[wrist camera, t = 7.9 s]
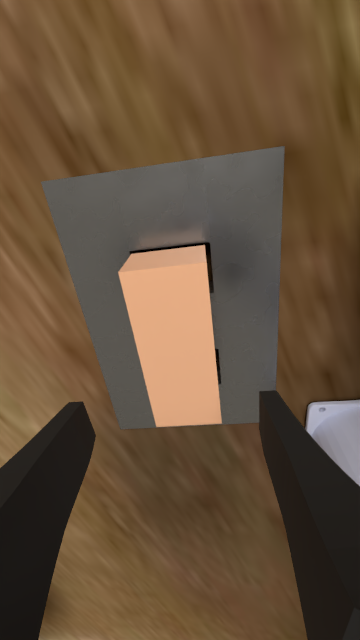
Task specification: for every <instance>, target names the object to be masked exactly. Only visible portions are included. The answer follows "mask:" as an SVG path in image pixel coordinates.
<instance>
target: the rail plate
mask: <svg viewBox="0 0 360 640" xmlns="http://www.w3.org/2000/svg"><path fill="white" fill-rule="evenodd" d="M283 172H284V146H282V147H275V148H268V149H262V150H255V151H248V152H241V153H234V154H228V155H221V156H214V157H207V158H200V159H194V160H187V161H180V162H173V163H166V164H160V165H153V166H146V167H139V168H132V169H126V170H119V171H112V172H105V173H98V174H92V175H85V176H78V177H71V178H64V179H58V180H51V181H44V182H41V183H42V187H43V190H44V193H45V196H46V199H47V202H48V205H49V208H50V211H51V215H52V218H53V221H54V224H55V227H56V230H57V233H58V236H59V239H60V243H61V246H62V249H63V252H64V255H65V258H66V261H67V264H68V267H69V271H70V274H71V277H72V280H73V283H74V286H75V289H76V292H77V295H78V299H79V302H80V305H81V308H82V311H83V314H84V317H85V320H86V324H87V327H88V330H89V333H90V336H91V339H92V342H93V345H94V348H95V352H96V355H97V358H98V361H99V364H100V367H101V370H102V373H103V376H104V380H105V383H106V386H107V389H108V392H109V395H110V398H111V401H112V404H113V408H114V411H115V414H116V417H117V420H118V423H119V426H120V429H137V428H157V427H156V423H155V419H154V415H153V411H152V407H151V403H150V399H149V395H148V391H147V387H146V383H145V379H144V375H143V371H142V367H141V363H140V359H139V355H138V351H137V346H136V342H135V338H134V334H133V330H132V326H131V322H130V318H129V314H128V310H127V306H126V302H125V298H124V294H123V290H122V286H121V282H120V278H119V274H118V272H119V271H120V269H121V268H122V266H123V265H124V264H125V262H126V261H127V259H128V258H129V257H130V255H131V254H135V253H138V250H145V249H153V248H162V247H171V246H179V245H188V244H197V243H205V242H210V255H211V267H212V280H213V281H208V283H209V293H210V304H211V314H212V325H213V335H214V346H215V349H218V355H219V367H217V377H218V388H219V398H220V409H221V419H222V424H241V423H259V391H271V390H276V368H277V340H278V312H279V284H280V256H281V228H282V200H283ZM204 425H220V424H204ZM186 426H199V425H186ZM167 427H178V426H167Z"/></svg>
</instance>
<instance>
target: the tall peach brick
mask: <svg viewBox="0 0 360 640" xmlns="http://www.w3.org/2000/svg"><path fill="white" fill-rule="evenodd" d="M118 274H119V278H120V282H121V286H122V290H123V294H124V298H125V302H126V306H127V310H128V314H129V318H130V322H131V326H132V330H133V334H134V338H135V342H136V346H137V351H138V355H139V359H140V363H141V367H142V371H143V375H144V379H145V383H146V387H147V391H148V395H149V399H150V403H151V407H152V411H153V415H154V419H155V423H156V427H167V426H186V425H204V424H222V419H221V409H220V398H219V388H218V377H217V367H216V356H215V346H214V335H213V325H212V314H211V304H210V293H209V283H208V272H207V262H206V251H205V245H200V246H192V247H184V248H176V249H168V250H160V251H151V252H143V253H135V254H131V255H130V257H129V258H128V259H127V261H126V262H125V264H124V265H123V266H122V268H121V269H120V271H119V272H118Z"/></svg>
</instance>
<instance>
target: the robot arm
mask: <svg viewBox="0 0 360 640" xmlns="http://www.w3.org/2000/svg"><path fill="white" fill-rule="evenodd" d="M322 407H323V408H322ZM320 408H321V409H320ZM259 430H260V435H261V441H262V446H263V451H264V456H265V459H266V463H267V466H268V469H269V473H270V476H271V480H272V483H273V486H274V490H275V493H276V496H277V500H278V503H279V507H280V510H281V513H282V517H283V521H284V525H285V528H286V533H287V538H288V543H289V547H290V552H291V557H292V562H293V567H294V572H295V577H296V582H297V587H298V592H299V596H300V602H301V607H302V612H303V617H304V622H305V628H306V633H307V638H308V640H360V400H349V401H331V402H314V403H311V404H309V405H308V408H307V418H306V427H305V428H304V427H303V426H302V425H301V423H300V422H299V421H298V420H297V418H296V417H295V416H294V414H293V413H292V412H291V410H290V409H289V408H288V406H287V405H286V404H285V402H284V401H283V399H282V398H281V396H280V395H279V393H278V392H277V391H276V390H271V391H259ZM95 437H96V435H95V432H94V430H93V427H92V424H91V422H90V419H89V416H88V414H87V411H86V409H85V406H84V403H83V402H69V403H68V404H67V405H66V406H65V407H64V408H63V409H62V410H61V411H60V412H59V413H58V414H57V415H56V416H55V417H54V418H53V419H52V420H51V421H50V422H49V423H48V424H47V425H46V426H45V427H44V428H43V429H42V430H41V431H40V432H39V433H38V434H37V435H35V436H34V437H33V438H32V439H31V440H30V441H29V442H28V443H27V444H26V445H25V446H24V447H23V448H22V449H21V450H20V451H19V452H18V453H17V454H15V455H14V456H13V457H12V458H11V459H10V460H9V461H8V462H7V463H6V464H5V465H3V466H2V467H1V468H0V640H38V638H39V633H40V628H41V624H42V619H43V615H44V610H45V606H46V601H47V597H48V592H49V588H50V584H51V580H52V576H53V572H54V568H55V564H56V560H57V557H58V553H59V549H60V546H61V542H62V538H63V535H64V531H65V528H66V525H67V522H68V519H69V516H70V513H71V511H72V508H73V505H74V503H75V500H76V497H77V495H78V492H79V489H80V487H81V484H82V481H83V479H84V476H85V473H86V470H87V468H88V465H89V462H90V458H91V455H92V451H93V446H94V442H95Z"/></svg>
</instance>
